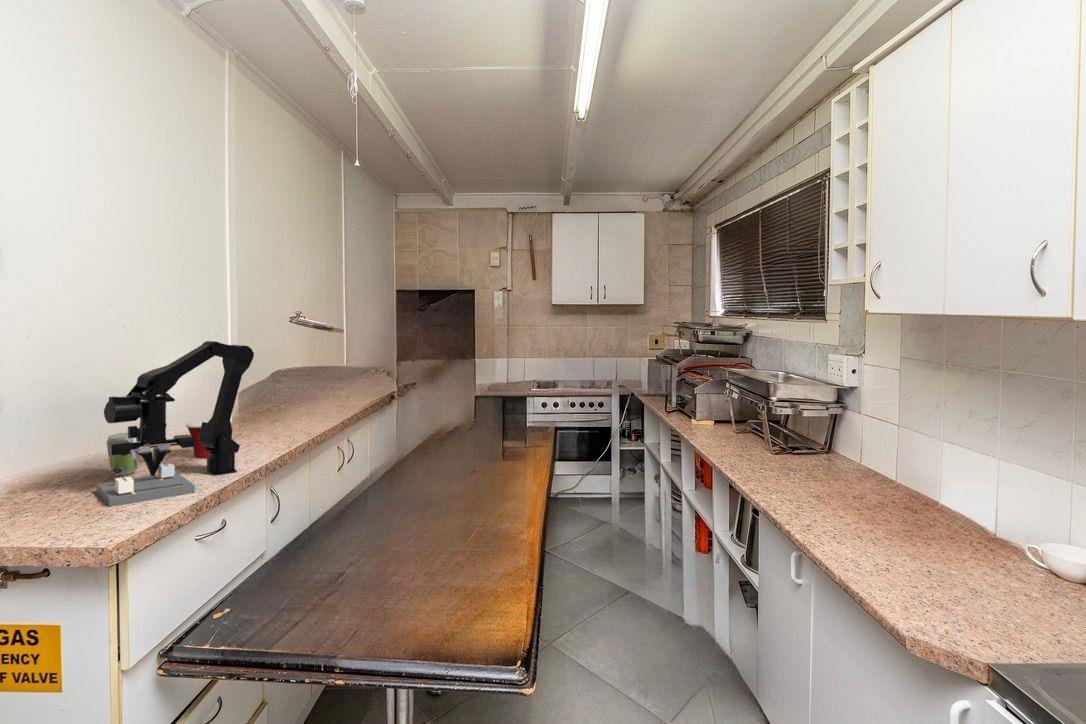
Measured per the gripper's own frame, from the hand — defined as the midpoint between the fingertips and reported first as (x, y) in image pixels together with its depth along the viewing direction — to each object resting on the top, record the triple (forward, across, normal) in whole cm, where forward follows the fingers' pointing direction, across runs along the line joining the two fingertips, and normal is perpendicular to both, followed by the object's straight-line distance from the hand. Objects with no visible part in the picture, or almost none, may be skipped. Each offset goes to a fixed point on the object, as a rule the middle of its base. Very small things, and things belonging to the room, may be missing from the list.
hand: (152, 475), depth 147 cm
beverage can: (+3, +3, -19) cm, 20 cm away
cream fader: (+1, +8, +10) cm, 13 cm away
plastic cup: (+3, -21, -29) cm, 36 cm away
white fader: (+1, -3, 0) cm, 3 cm away
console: (+3, +2, +5) cm, 6 cm away
